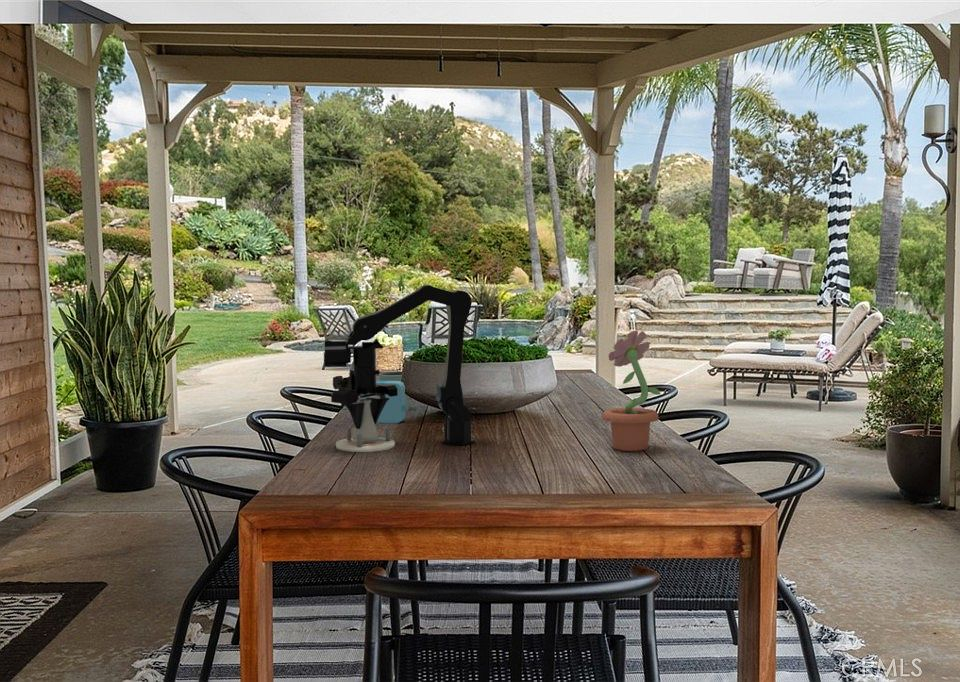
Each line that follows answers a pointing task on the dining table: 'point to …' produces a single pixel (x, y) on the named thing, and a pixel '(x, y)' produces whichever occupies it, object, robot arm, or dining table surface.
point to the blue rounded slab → (393, 404)
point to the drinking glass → (394, 377)
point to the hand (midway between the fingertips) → (365, 427)
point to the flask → (366, 424)
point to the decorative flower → (629, 421)
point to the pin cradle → (365, 443)
